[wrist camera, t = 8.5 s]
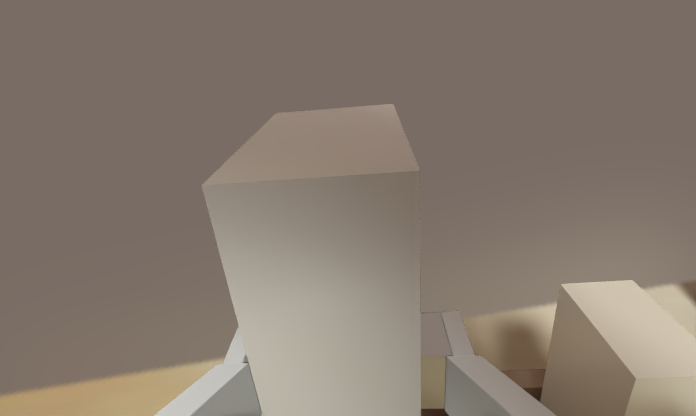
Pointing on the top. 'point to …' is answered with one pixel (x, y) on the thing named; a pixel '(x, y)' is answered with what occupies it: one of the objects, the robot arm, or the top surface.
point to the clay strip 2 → (618, 355)
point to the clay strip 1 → (325, 261)
